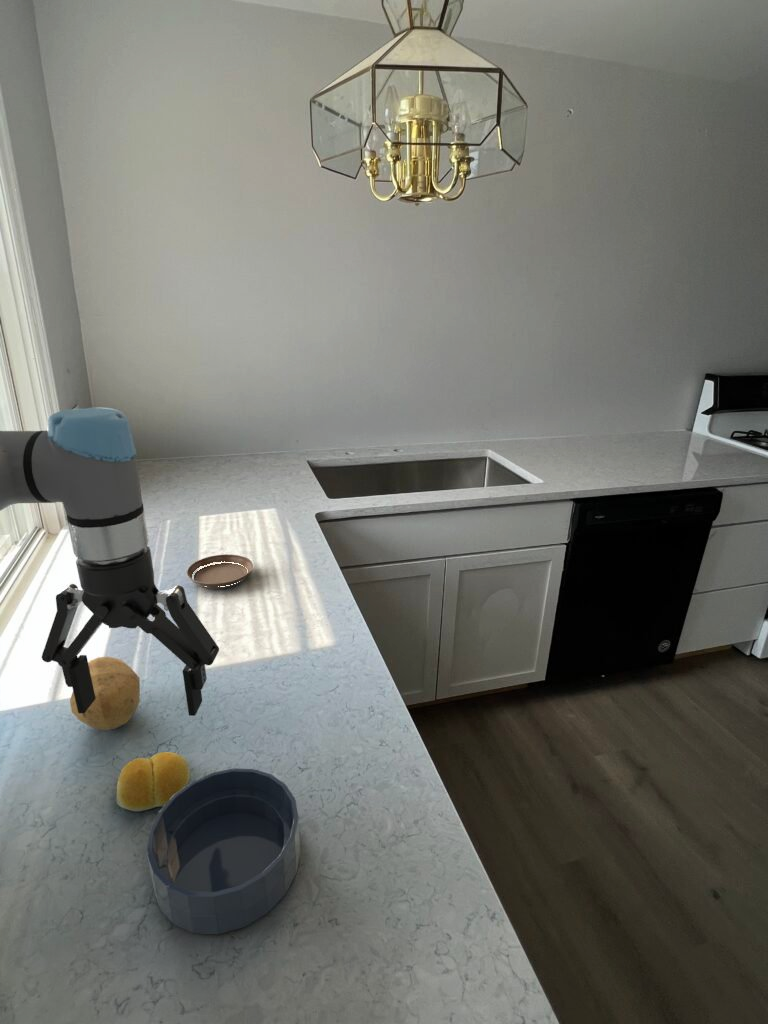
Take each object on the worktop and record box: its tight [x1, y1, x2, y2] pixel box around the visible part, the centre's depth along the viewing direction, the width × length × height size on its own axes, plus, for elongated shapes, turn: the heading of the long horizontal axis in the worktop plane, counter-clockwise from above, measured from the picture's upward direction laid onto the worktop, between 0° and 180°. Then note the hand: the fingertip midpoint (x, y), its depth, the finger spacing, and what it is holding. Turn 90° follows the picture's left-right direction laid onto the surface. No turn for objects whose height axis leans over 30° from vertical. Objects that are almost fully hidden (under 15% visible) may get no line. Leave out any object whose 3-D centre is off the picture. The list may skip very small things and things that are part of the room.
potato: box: [69, 656, 141, 731], centre depth 84 cm, size 10×14×8 cm
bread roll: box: [115, 751, 191, 812], centre depth 73 cm, size 8×9×4 cm
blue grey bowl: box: [146, 767, 301, 935], centre depth 63 cm, size 16×16×6 cm
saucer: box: [186, 553, 254, 590], centre depth 129 cm, size 15×15×3 cm
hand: (141, 707), depth 69 cm, fingers open, 13 cm apart
